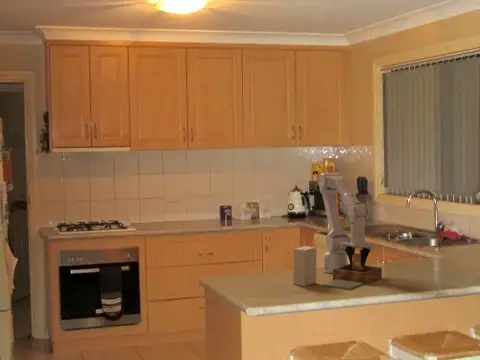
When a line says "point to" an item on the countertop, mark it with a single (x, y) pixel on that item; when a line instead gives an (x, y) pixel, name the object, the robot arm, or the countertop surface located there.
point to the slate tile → (342, 284)
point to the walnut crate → (357, 274)
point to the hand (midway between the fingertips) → (357, 265)
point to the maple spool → (356, 262)
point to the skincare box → (304, 266)
